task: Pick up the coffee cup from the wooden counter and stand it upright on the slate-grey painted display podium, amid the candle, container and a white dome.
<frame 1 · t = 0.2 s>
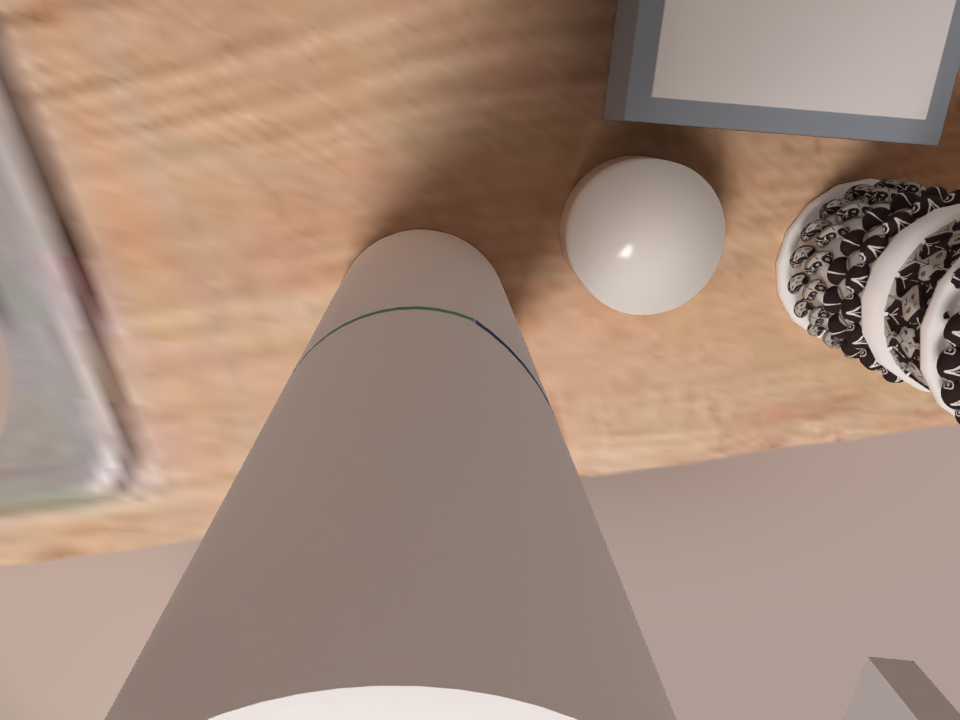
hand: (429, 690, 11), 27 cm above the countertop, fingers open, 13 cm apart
container: (422, 313, 37), on the countertop
decorative candle: (853, 262, 38), on the countertop
white dome: (629, 228, 36), on the countertop
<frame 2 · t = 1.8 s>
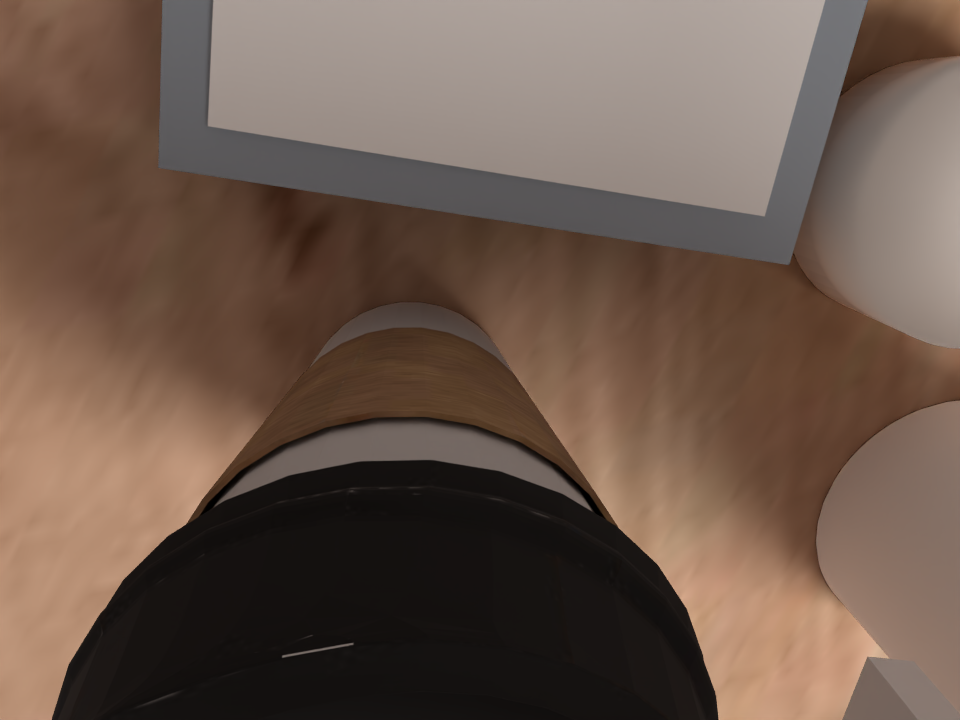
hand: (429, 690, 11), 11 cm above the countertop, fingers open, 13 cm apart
container: (937, 515, 24), on the countertop
coffee cup: (411, 395, 22), on the countertop
white dome: (906, 192, 21), on the countertop
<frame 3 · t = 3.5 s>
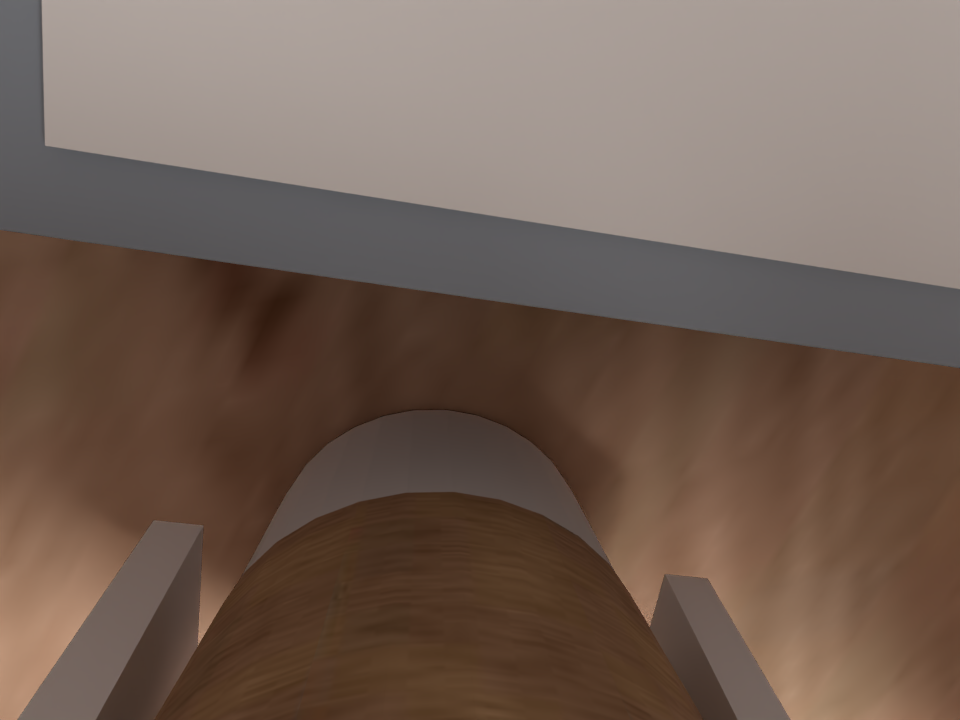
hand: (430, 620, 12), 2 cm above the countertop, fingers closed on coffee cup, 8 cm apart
coffee cup: (430, 541, 14), on the countertop, touching gripper
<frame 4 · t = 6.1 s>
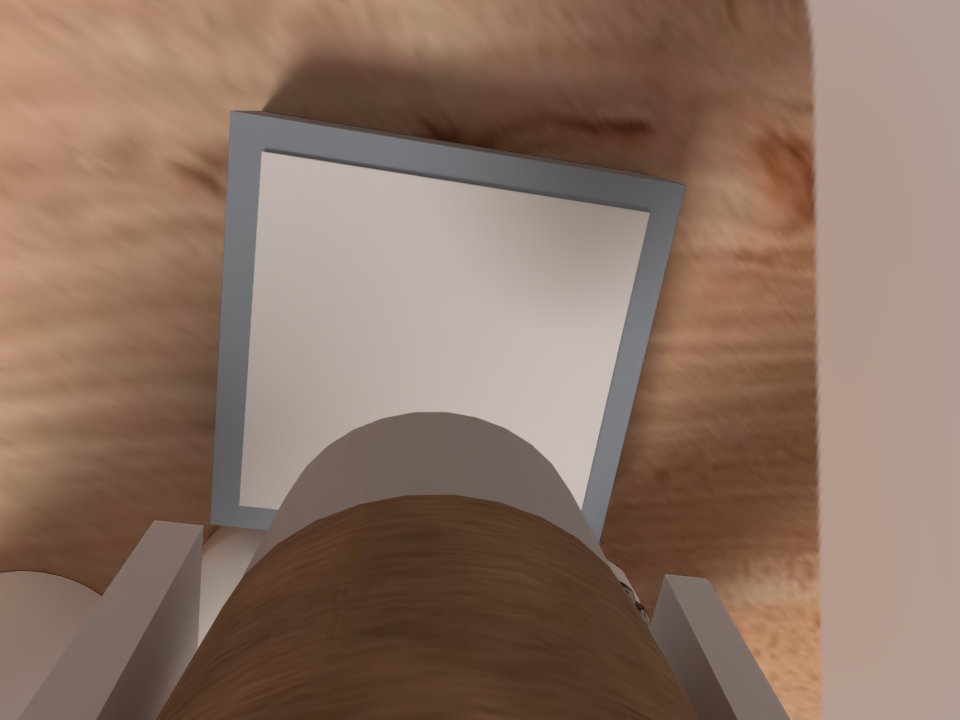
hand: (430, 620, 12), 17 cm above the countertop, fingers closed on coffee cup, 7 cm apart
container: (40, 651, 32), on the countertop
coffee cup: (430, 543, 14), point 15 cm above the countertop, touching gripper
decorative candle: (547, 622, 33), on the countertop
white dome: (279, 580, 31), on the countertop
podium: (434, 330, 28), on the countertop
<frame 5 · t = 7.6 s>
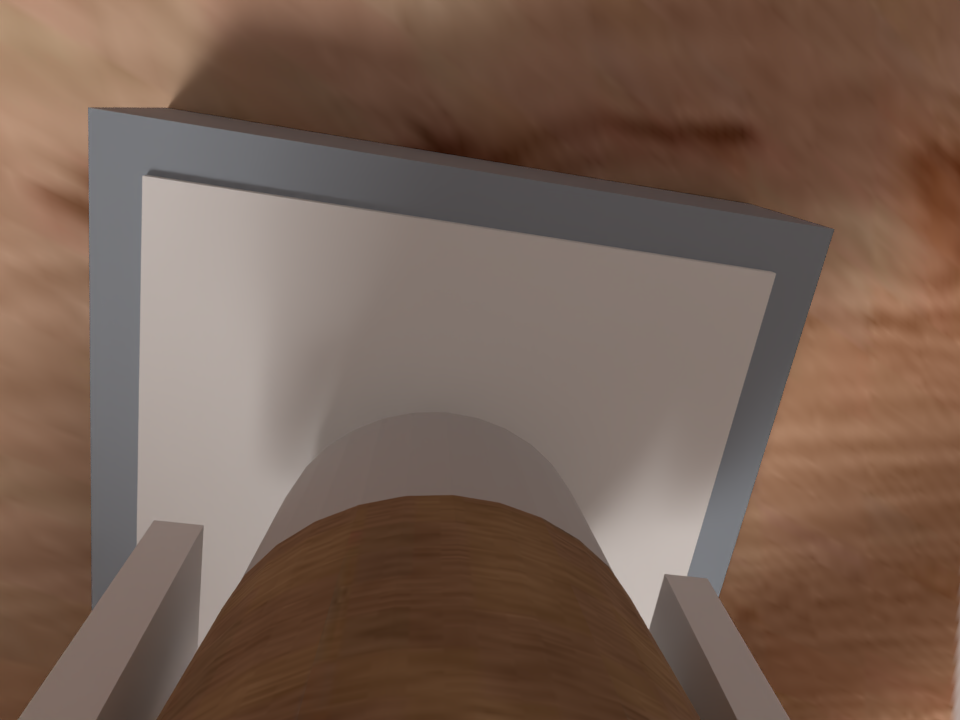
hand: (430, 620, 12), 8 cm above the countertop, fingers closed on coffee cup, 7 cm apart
coffee cup: (430, 543, 14), point 5 cm above the countertop, touching gripper
podium: (430, 426, 19), on the countertop
when the fingers open (7 cm above the countertop, at t = 8.7 s): coffee cup stays where it is, resting on podium.
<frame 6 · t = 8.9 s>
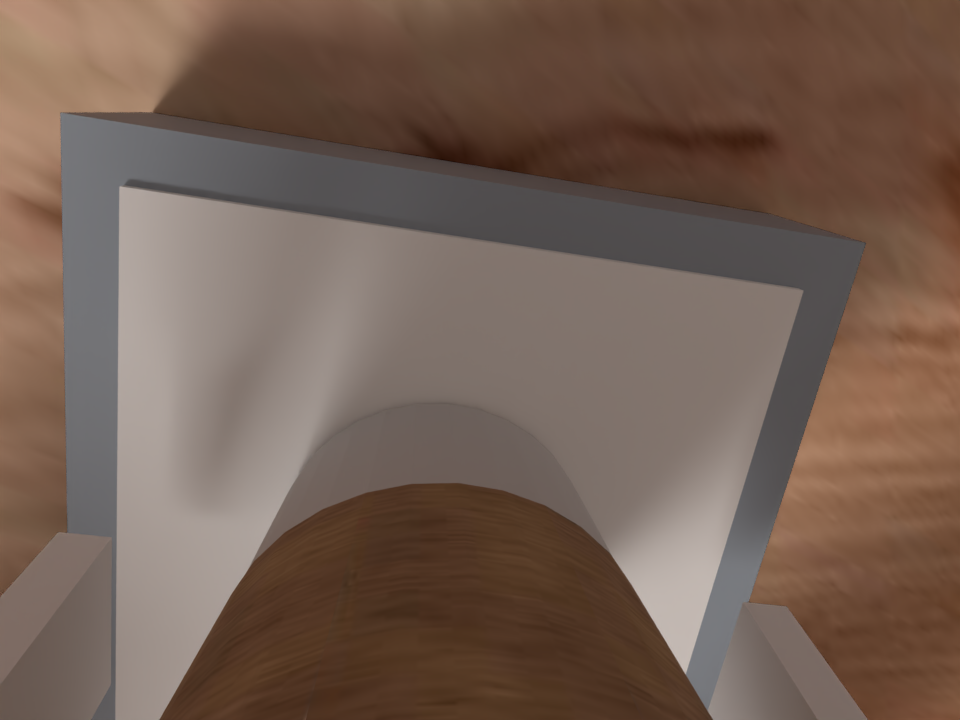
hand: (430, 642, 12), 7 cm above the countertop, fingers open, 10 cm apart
coffee cup: (433, 533, 15), point 4 cm above the countertop, touching podium
podium: (431, 447, 18), on the countertop
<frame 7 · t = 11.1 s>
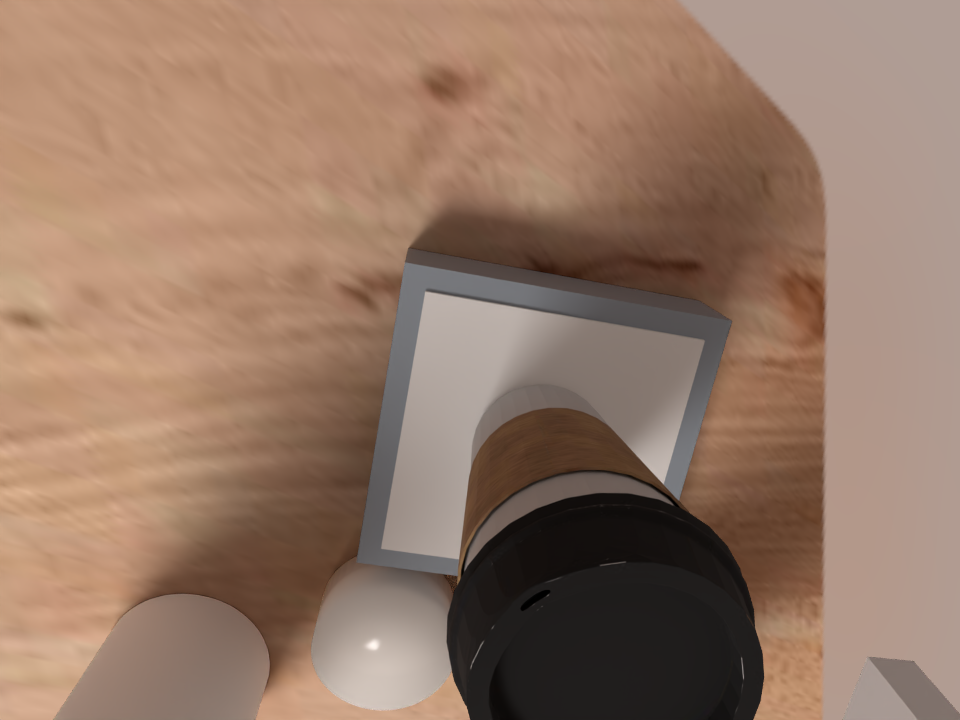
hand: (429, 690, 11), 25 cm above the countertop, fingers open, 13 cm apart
container: (189, 660, 39), on the countertop
coffee cup: (538, 445, 32), point 4 cm above the countertop, touching podium
white dome: (388, 607, 39), on the countertop
podium: (526, 413, 36), on the countertop
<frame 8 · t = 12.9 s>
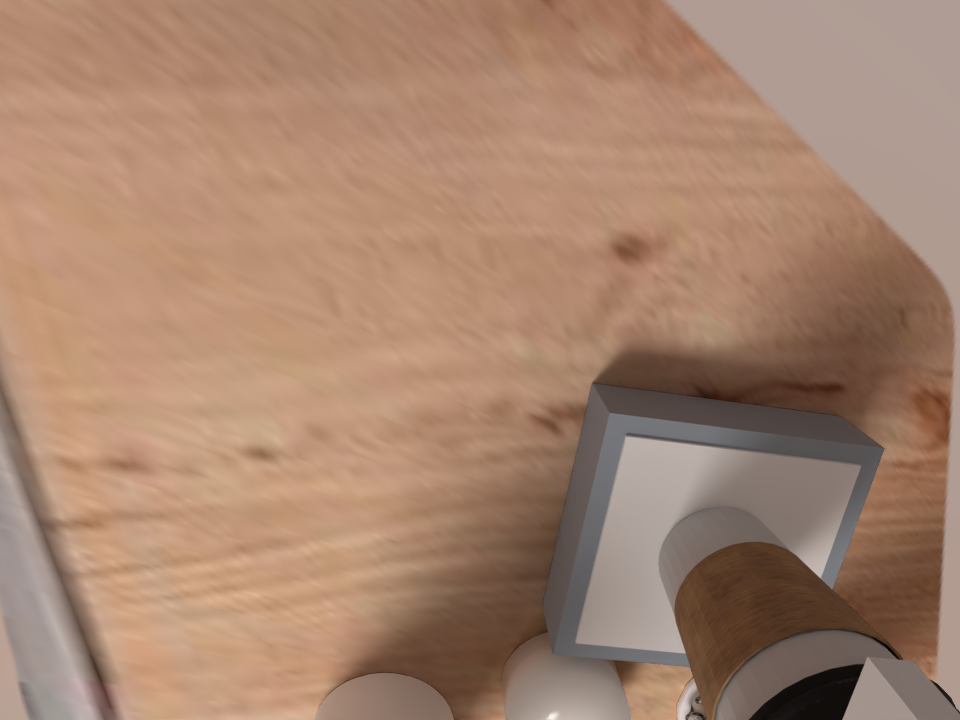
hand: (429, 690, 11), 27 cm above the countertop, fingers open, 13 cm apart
coffee cup: (713, 554, 37), point 4 cm above the countertop, touching podium
decorative candle: (740, 704, 46), on the countertop
white dome: (559, 678, 44), on the countertop
podium: (686, 514, 41), on the countertop
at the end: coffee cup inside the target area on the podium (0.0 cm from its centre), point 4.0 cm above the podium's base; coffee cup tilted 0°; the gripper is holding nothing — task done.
